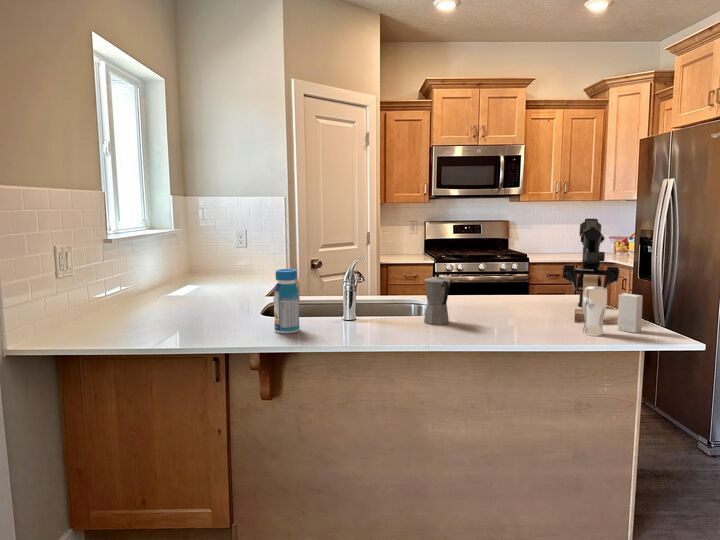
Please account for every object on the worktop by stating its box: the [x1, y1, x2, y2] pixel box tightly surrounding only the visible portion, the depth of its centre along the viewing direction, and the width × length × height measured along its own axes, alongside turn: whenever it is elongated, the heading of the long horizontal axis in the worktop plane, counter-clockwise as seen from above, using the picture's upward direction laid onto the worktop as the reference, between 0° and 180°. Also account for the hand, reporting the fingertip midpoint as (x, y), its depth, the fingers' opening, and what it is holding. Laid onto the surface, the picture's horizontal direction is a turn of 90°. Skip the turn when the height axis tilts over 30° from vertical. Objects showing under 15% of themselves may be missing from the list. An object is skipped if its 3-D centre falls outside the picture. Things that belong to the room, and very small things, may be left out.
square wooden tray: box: [574, 308, 585, 323], centre depth 182 cm, size 9×9×3 cm
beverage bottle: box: [272, 268, 301, 334], centre depth 165 cm, size 8×8×20 cm
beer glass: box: [582, 286, 608, 337], centre depth 163 cm, size 7×7×15 cm
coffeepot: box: [423, 271, 451, 326], centre depth 177 cm, size 15×9×18 cm, turn 15°
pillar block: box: [581, 275, 599, 313], centre depth 181 cm, size 4×4×13 cm
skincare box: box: [617, 292, 644, 334], centre depth 167 cm, size 6×4×12 cm
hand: (589, 291), depth 184 cm, fingers open, 9 cm apart
